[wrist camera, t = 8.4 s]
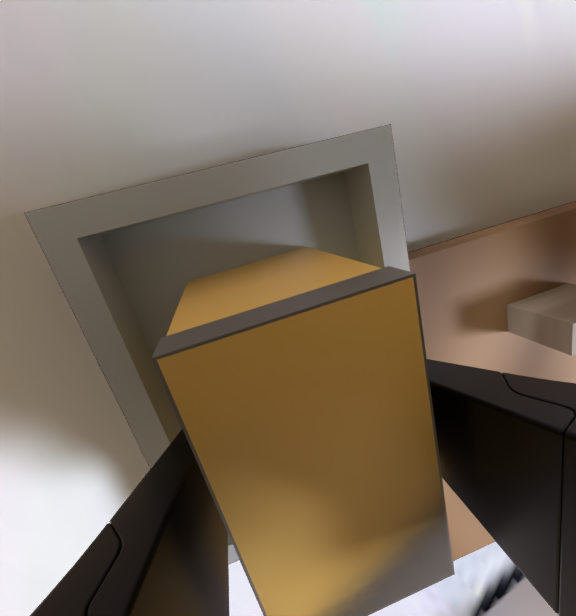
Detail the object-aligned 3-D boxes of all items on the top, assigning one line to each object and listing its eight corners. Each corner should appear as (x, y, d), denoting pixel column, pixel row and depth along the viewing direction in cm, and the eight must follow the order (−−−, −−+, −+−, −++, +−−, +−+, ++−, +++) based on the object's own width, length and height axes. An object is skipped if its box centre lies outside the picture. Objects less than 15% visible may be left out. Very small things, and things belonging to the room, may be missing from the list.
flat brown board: (631, 183, 14) (761, 173, 11) (607, 466, 19) (690, 518, 16) (381, 260, 12) (443, 276, 9) (427, 548, 17) (478, 626, 14)
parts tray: (352, 144, 11) (390, 124, 9) (401, 435, 15) (437, 476, 12) (70, 214, 10) (24, 213, 7) (204, 513, 13) (202, 575, 11)
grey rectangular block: (307, 244, 11) (414, 273, 5) (348, 418, 13) (454, 573, 7) (185, 280, 10) (151, 357, 4) (249, 455, 12) (282, 656, 7)
